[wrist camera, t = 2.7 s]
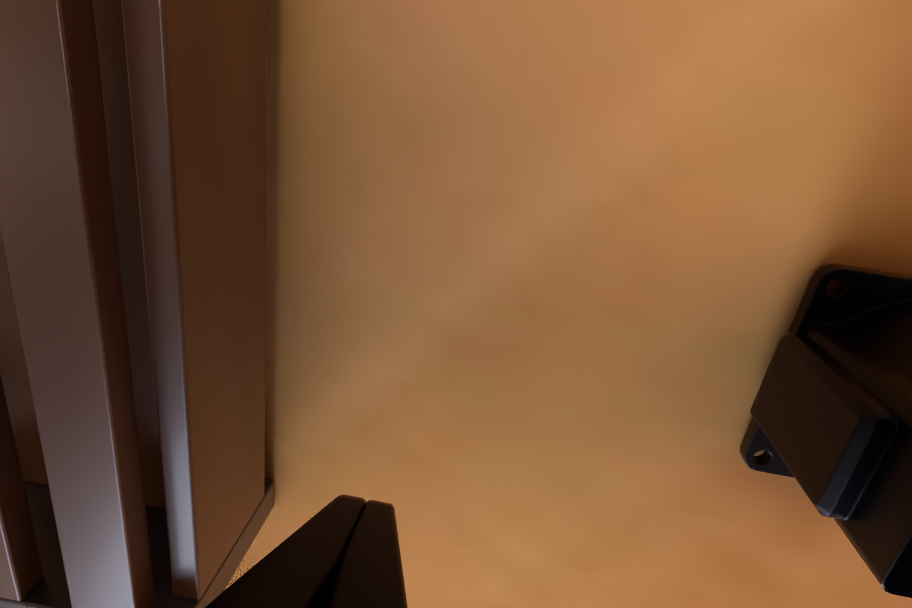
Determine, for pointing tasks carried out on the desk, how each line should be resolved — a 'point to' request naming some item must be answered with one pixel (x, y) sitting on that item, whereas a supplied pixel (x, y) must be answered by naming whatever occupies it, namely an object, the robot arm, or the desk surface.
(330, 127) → the desk surface
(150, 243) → the rack
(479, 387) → the desk surface
